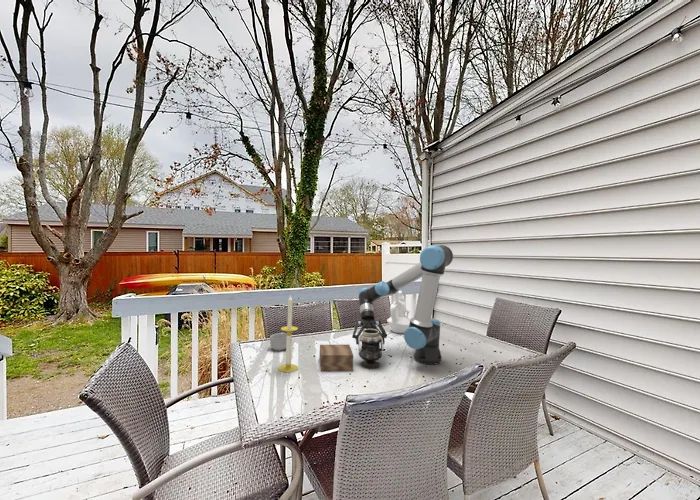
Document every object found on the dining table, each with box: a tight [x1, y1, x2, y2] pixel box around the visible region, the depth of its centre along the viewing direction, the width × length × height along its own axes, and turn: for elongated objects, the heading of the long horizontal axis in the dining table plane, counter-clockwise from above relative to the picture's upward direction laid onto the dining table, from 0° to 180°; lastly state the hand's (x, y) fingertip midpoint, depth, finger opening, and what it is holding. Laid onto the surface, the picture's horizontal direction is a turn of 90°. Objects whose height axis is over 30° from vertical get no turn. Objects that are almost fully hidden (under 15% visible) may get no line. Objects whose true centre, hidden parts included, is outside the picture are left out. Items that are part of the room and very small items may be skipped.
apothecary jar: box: [358, 329, 383, 369], centre depth 181 cm, size 12×12×18 cm
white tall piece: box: [386, 290, 411, 334], centre depth 243 cm, size 18×22×32 cm
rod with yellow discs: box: [277, 294, 299, 373], centre depth 172 cm, size 10×10×38 cm
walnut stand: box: [318, 344, 354, 372], centre depth 180 cm, size 16×16×8 cm
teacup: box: [269, 331, 287, 352], centre depth 202 cm, size 14×11×8 cm
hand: (371, 349), depth 179 cm, fingers open, 11 cm apart
